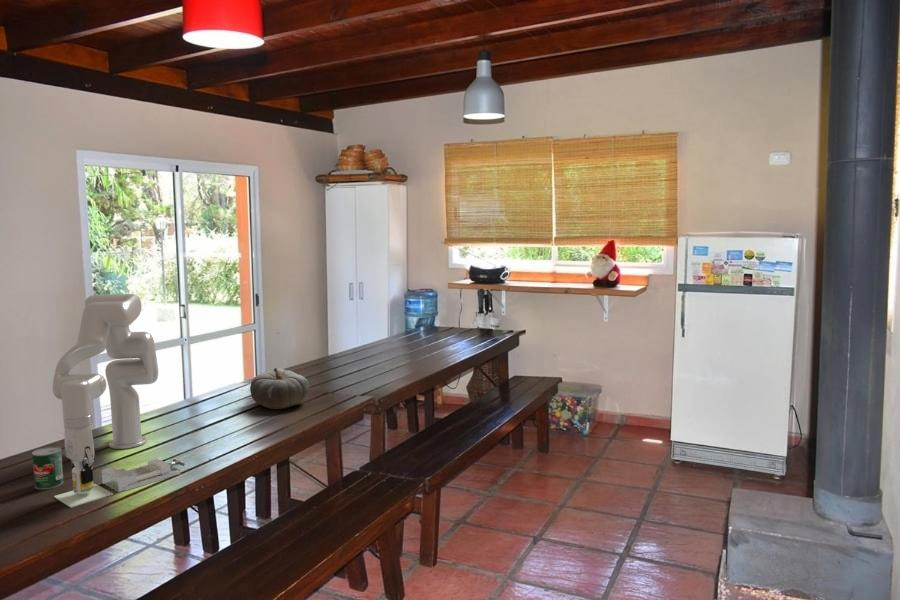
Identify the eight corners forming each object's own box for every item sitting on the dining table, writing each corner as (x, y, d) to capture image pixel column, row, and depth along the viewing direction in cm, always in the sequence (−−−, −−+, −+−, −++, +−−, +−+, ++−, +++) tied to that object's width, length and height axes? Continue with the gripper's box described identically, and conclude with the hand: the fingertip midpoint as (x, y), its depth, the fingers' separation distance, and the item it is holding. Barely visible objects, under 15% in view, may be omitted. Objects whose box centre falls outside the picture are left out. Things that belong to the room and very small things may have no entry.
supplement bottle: (97, 487, 209) (94, 456, 208) (88, 494, 204) (86, 462, 203) (79, 487, 209) (76, 456, 208) (69, 494, 204) (67, 463, 202)
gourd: (277, 389, 323) (278, 354, 318) (320, 403, 313) (321, 368, 308) (239, 407, 301) (239, 371, 296) (284, 423, 291) (285, 386, 286)
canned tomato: (32, 491, 211) (29, 456, 209) (36, 482, 218) (33, 448, 216) (62, 487, 214) (59, 452, 212) (65, 478, 221) (62, 445, 220)
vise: (102, 483, 216) (101, 469, 216) (171, 463, 234) (170, 450, 233) (119, 492, 209) (118, 478, 208) (189, 471, 226) (188, 457, 226)
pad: (54, 497, 206) (54, 496, 206) (95, 485, 215) (95, 483, 215) (70, 507, 198) (70, 506, 198) (113, 494, 207) (113, 493, 207)
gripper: (53, 419, 206) (57, 477, 209) (77, 430, 195) (81, 491, 198) (79, 413, 212) (83, 469, 214) (104, 424, 201) (108, 483, 203)
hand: (82, 479), depth 206 cm, fingers closed on supplement bottle, 5 cm apart
